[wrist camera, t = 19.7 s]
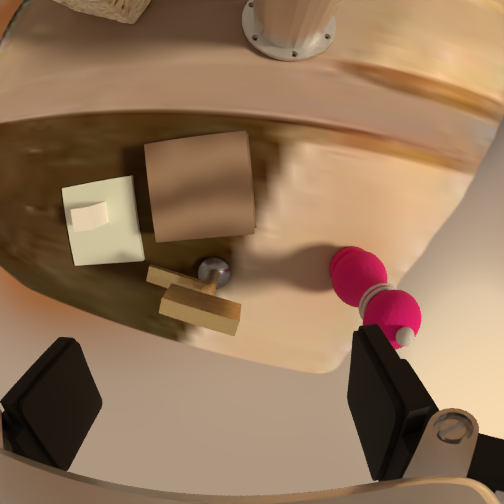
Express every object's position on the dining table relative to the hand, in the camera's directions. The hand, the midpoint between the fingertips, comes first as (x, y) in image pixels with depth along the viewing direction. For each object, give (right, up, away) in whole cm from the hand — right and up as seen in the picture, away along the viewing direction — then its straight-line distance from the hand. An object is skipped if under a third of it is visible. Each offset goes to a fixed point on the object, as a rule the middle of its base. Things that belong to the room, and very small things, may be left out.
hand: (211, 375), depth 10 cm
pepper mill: (+15, +2, +34) cm, 37 cm away
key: (-6, +1, +33) cm, 34 cm away
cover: (-20, +8, +33) cm, 40 cm away
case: (-5, +13, +31) cm, 34 cm away
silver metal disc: (-4, +1, +34) cm, 35 cm away
